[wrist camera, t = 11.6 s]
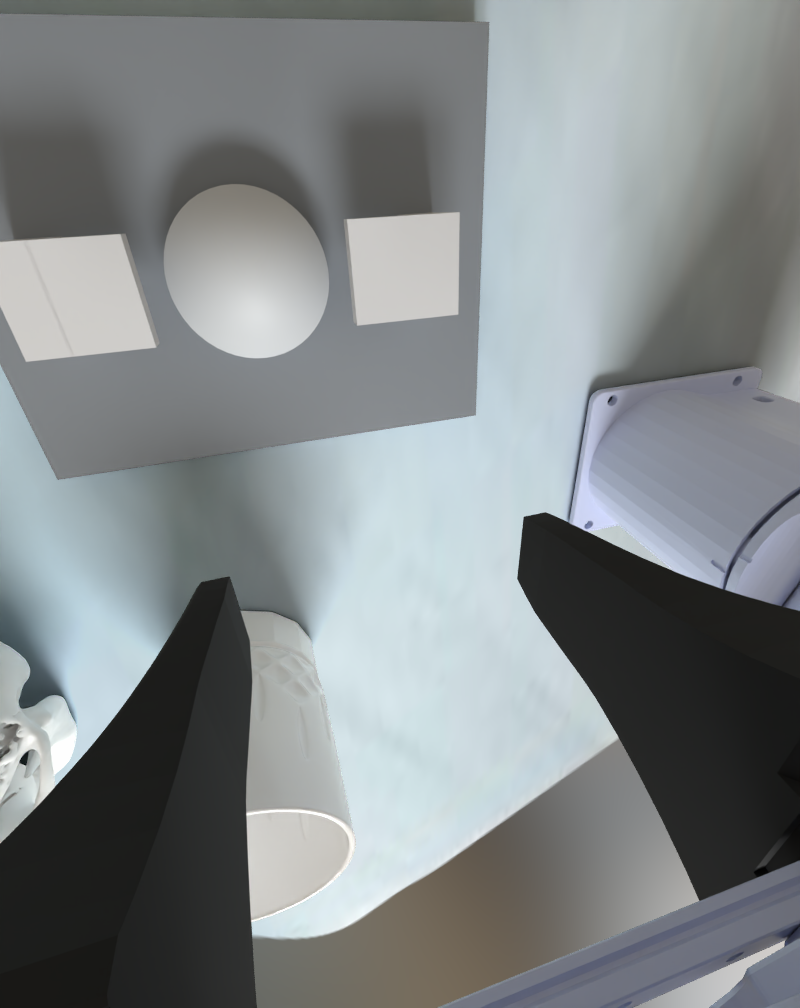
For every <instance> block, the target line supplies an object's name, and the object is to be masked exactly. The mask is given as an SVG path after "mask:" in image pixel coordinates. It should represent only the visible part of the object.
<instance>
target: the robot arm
mask: <svg viewBox="0 0 800 1008" xmlns="http://www.w3.org/2000/svg"><path fill="white" fill-rule="evenodd" d="M761 378H762V370H761V369H760V368H757V367H745V368H739V369H732V370H725V371H719V372H712V373H706V374H699V375H692V376H686V377H679V378H672V379H666V380H659V381H653V382H646V383H639V384H633V385H626V386H620V387H613V388H606V389H600V390H597V391H596V392H594V393H593V395H592V396H591V397H590V400H589V406H588V412H587V418H586V424H585V430H584V436H583V442H582V448H581V454H580V460H579V466H578V472H577V478H576V484H575V490H574V496H573V502H572V508H571V514H570V520H569V523H568V522H566V521H564V520H562V519H560V518H558V517H555V516H553V515H551V514H548V513H546V512H545V513H540V514H535V515H531V516H526V517H524V520H523V529H522V539H521V549H520V558H519V568H518V578H517V579H518V581H519V583H520V585H521V587H522V589H523V591H524V593H525V595H526V597H527V599H528V601H529V602H530V604H531V606H532V608H533V610H534V611H535V613H536V614H537V616H538V617H539V619H540V620H541V622H542V623H543V624H544V626H545V627H546V629H547V630H548V631H549V633H550V634H551V636H552V637H553V638H554V640H555V641H556V643H557V644H558V645H559V647H560V648H561V649H562V651H563V652H564V654H565V655H566V656H567V658H568V659H569V661H570V662H571V663H572V665H573V666H574V667H575V669H576V670H577V672H578V673H579V674H580V676H581V677H582V678H583V680H584V681H585V683H586V684H587V686H588V687H589V689H590V690H591V692H592V693H593V695H594V696H595V698H596V699H597V701H598V703H599V704H600V706H601V708H602V709H603V711H604V713H605V715H606V716H607V718H608V720H609V721H610V723H611V725H612V727H613V728H614V730H615V732H616V733H617V735H618V737H619V739H620V741H621V742H622V744H623V746H624V748H625V750H626V752H627V753H628V755H629V757H630V759H631V761H632V762H633V764H634V766H635V768H636V770H637V771H638V774H639V775H640V777H641V779H642V781H643V783H644V785H645V787H646V789H647V791H648V793H649V795H650V797H651V799H652V801H653V803H654V805H655V807H656V809H657V811H658V813H659V815H660V817H661V819H662V821H663V823H664V825H665V827H666V829H667V831H668V833H669V835H670V837H671V840H672V842H673V844H674V846H675V848H676V850H677V852H678V854H679V857H680V859H681V861H682V863H683V865H684V867H685V869H686V871H687V874H688V876H689V878H690V880H691V883H692V885H693V887H694V889H695V892H696V894H697V896H698V898H699V902H696V903H694V904H691V905H689V906H686V907H684V908H681V909H679V910H677V911H674V912H672V913H669V914H667V915H664V916H662V917H659V918H657V919H654V920H652V921H650V922H647V923H645V924H642V925H640V926H637V927H635V928H632V929H630V930H627V931H625V932H622V933H620V934H617V935H615V936H612V937H610V938H608V939H605V940H603V941H600V942H598V943H595V944H593V945H590V946H588V947H585V948H583V949H580V950H578V951H576V952H573V953H571V954H568V955H566V956H563V957H561V958H558V959H556V960H553V961H551V962H548V963H546V964H544V965H541V966H539V967H536V968H534V969H531V970H529V971H527V972H524V973H521V974H519V975H516V976H514V977H512V978H510V979H507V980H504V981H502V982H499V983H497V984H494V985H492V986H490V987H487V988H485V989H482V990H480V991H477V992H475V993H472V994H470V995H467V996H465V997H462V998H460V999H458V1000H455V1001H453V1002H450V1003H448V1004H445V1005H443V1006H440V1007H438V1008H633V1007H635V1006H638V1005H640V1004H642V1003H644V1002H647V1001H649V1000H651V999H654V998H656V997H658V996H660V995H663V994H665V993H667V992H669V991H672V990H674V989H676V988H678V987H681V986H683V985H685V984H687V983H690V982H692V981H694V980H696V979H698V978H701V977H703V976H705V975H708V974H710V973H712V972H714V971H717V970H719V969H721V968H723V967H726V966H728V965H730V964H732V963H734V962H737V961H739V960H741V959H744V958H746V957H748V956H750V955H753V954H755V953H757V952H759V951H762V950H764V949H766V948H769V947H771V946H773V945H775V944H777V943H780V942H782V941H784V940H786V941H785V946H784V947H783V948H782V949H780V950H778V951H777V952H775V953H773V954H771V955H770V956H768V957H766V958H764V959H763V960H761V961H759V962H757V963H756V964H754V965H752V966H751V967H749V968H748V969H747V971H746V973H745V975H744V977H743V979H742V980H741V981H740V982H739V983H738V984H737V985H736V986H735V987H734V988H733V989H732V990H731V991H730V992H728V993H727V994H726V995H724V996H723V997H722V998H721V999H719V1000H718V1001H717V1002H715V1003H714V1004H713V1005H712V1006H710V1007H709V1008H800V403H798V402H795V401H792V400H789V399H786V398H783V397H780V396H777V395H774V394H772V393H769V392H766V391H763V390H760V389H758V386H759V383H760V380H761ZM611 396H612V399H611V401H610V402H609V403H608V399H609V398H610V397H611ZM587 522H588V523H587ZM586 523H587V524H586ZM617 525H619V526H621V527H622V528H623V529H624V530H625V531H626V532H628V533H629V534H630V535H631V536H632V537H634V538H635V539H636V540H637V541H638V542H640V543H641V544H642V545H643V546H644V547H646V548H647V549H648V550H649V551H650V552H651V553H653V554H654V555H655V556H656V557H657V558H659V559H660V560H661V561H662V562H663V563H665V564H666V565H667V566H668V567H669V568H671V569H672V570H673V571H672V570H669V569H667V568H665V567H662V566H660V565H658V564H655V563H653V562H650V561H648V560H646V559H643V558H641V557H639V556H637V555H635V554H632V553H630V552H628V551H626V550H624V549H622V548H620V547H617V546H615V545H613V544H611V543H609V542H607V541H605V540H603V539H601V538H599V537H597V536H595V535H593V534H591V533H589V531H594V530H598V529H603V528H607V527H612V526H617ZM251 698H252V665H251V650H250V639H249V636H248V633H247V630H246V627H245V624H244V620H243V617H242V614H241V611H240V608H239V605H238V601H237V598H236V595H235V592H234V589H233V586H232V582H231V579H230V577H225V578H220V579H215V580H210V581H205V582H201V583H200V585H199V586H198V587H197V589H196V591H195V593H194V594H193V596H192V598H191V600H190V602H189V604H188V605H187V607H186V609H185V611H184V613H183V614H182V616H181V618H180V620H179V621H178V623H177V625H176V626H175V628H174V630H173V632H172V633H171V635H170V636H169V638H168V640H167V641H166V643H165V645H164V646H163V648H162V649H161V651H160V653H159V654H158V656H157V658H156V659H155V661H154V662H153V664H152V665H151V667H150V668H149V670H148V671H147V672H146V674H145V675H144V677H143V678H142V680H141V681H140V683H139V684H138V686H137V687H136V688H135V690H134V691H133V693H132V694H131V696H130V697H129V698H128V700H127V701H126V703H125V704H124V705H123V707H122V708H121V709H120V711H119V712H118V713H117V715H116V716H115V717H114V718H113V720H112V721H111V722H110V724H109V725H108V726H107V727H106V729H105V730H104V731H103V732H102V734H101V735H100V736H99V737H98V739H97V740H96V741H95V742H94V743H93V745H92V746H91V747H90V748H89V749H88V751H87V752H86V753H85V754H84V755H83V756H82V758H81V759H80V760H79V761H78V762H77V763H76V764H75V766H74V767H73V768H72V769H71V770H70V771H69V772H68V773H67V774H66V775H65V777H64V778H63V779H62V780H61V781H60V782H59V783H58V784H57V785H56V786H55V788H54V789H53V790H52V791H51V792H50V793H49V794H48V795H47V796H46V797H45V799H44V800H43V801H42V802H41V803H40V804H39V805H38V806H37V807H36V808H35V809H34V810H33V811H32V812H31V813H30V814H29V815H28V816H27V817H26V818H25V819H24V820H23V821H22V822H21V823H20V824H19V825H18V826H17V827H16V828H15V829H14V830H13V831H12V832H11V833H10V834H9V835H8V836H7V837H6V838H5V839H4V840H3V841H2V842H1V843H0V1008H257V1005H256V991H255V979H254V978H255V977H254V962H253V945H252V927H251V910H250V890H249V868H248V845H247V815H246V782H247V764H248V748H249V732H250V716H251Z"/></svg>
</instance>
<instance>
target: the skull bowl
mask: <svg viewBox="0 0 800 1008" xmlns="http://www.w3.org/2000/svg"><path fill="white" fill-rule="evenodd" d="M29 676H30V667H29V665H28V663H27V661H26V660H25V658H24V657H22V656H21V655H20V654H19V653H18V652H17V651H15V650H14V649H13V648H11V647H9V646H7V645H6V644H4V643H2V642H1V641H0V843H1V842H2V841H3V840H4V839H5V838H6V837H7V836H8V835H9V834H10V833H11V832H12V831H13V830H14V829H15V828H16V827H17V826H18V825H19V824H20V823H21V822H22V821H23V820H24V819H25V818H26V817H27V816H28V815H29V814H30V813H31V812H32V811H33V810H34V809H35V808H36V807H37V806H38V805H39V804H40V803H41V802H42V801H43V800H44V799H45V797H46V796H47V795H48V794H49V793H50V792H51V791H52V790H53V789H54V788H55V786H56V785H55V778H54V775H55V774H56V773H57V772H58V771H59V770H60V769H62V768H63V767H64V766H65V765H66V764H67V763H68V762H69V760H70V758H71V756H72V754H73V750H74V746H75V742H76V737H77V726H76V723H75V721H74V720H73V718H72V716H71V713H70V711H69V709H68V706H67V703H66V701H65V700H64V698H63V697H61V696H58V695H51V696H48V697H46V698H45V699H43V700H41V701H40V702H39V703H37V704H36V706H33V707H29V708H25V709H22V708H20V706H19V698H20V695H21V691H22V688H23V685H24V683H25V682H26V681H27V680H28V678H29ZM27 751H28V761H27V765H22V764H21V763H19V761H20V759H21V757H22V756H23V754H24V753H26V752H27Z"/></svg>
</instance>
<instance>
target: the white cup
mask: <svg viewBox="0 0 800 1008" xmlns="http://www.w3.org/2000/svg"><path fill="white" fill-rule="evenodd" d="M241 614H242V617H243V620H244V624H245V627H246V630H247V633H248V636H249V639H250V650H251V665H252V698H251V716H250V732H249V748H248V764H247V782H246V815H247V845H248V868H249V890H250V910H251V922H253V921H257V920H260V919H263V918H266V917H269V916H272V915H275V914H277V913H280V912H282V911H285V910H287V909H289V908H291V907H294V906H296V905H298V904H300V903H302V902H304V901H305V900H307V899H309V898H311V897H312V896H314V895H315V894H317V893H318V892H320V891H321V890H323V889H324V888H326V887H327V886H328V885H329V884H331V883H332V882H333V881H334V880H335V879H336V878H337V877H338V876H339V875H340V874H341V873H342V872H343V871H344V870H345V868H346V867H347V866H348V864H349V863H350V861H351V859H352V857H353V854H354V851H355V846H356V840H355V834H354V829H353V825H352V820H351V815H350V811H349V806H348V801H347V796H346V791H345V787H344V782H343V777H342V772H341V767H340V762H339V757H338V752H337V747H336V742H335V738H334V733H333V729H332V725H331V721H330V717H329V714H328V709H327V704H326V699H325V695H324V691H323V688H322V685H321V683H320V680H319V678H318V673H317V668H316V663H315V658H314V652H313V647H312V642H311V639H310V638H309V637H308V636H307V634H306V633H305V632H304V631H303V629H302V628H301V627H300V626H299V624H298V623H297V622H295V621H293V620H290V619H288V618H286V617H283V616H281V615H278V614H276V613H274V612H264V611H241Z"/></svg>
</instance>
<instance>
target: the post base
mask: <svg viewBox="0 0 800 1008" xmlns="http://www.w3.org/2000/svg"><path fill="white" fill-rule="evenodd" d="M488 42H489V22H455V21H399V20H342V19H286V18H230V17H173V16H117V15H61V14H4V13H0V365H1V367H2V369H3V371H4V373H5V375H6V377H7V379H8V381H9V383H10V385H11V387H12V389H13V391H14V393H15V395H16V397H17V399H18V401H19V403H20V405H21V407H22V409H23V411H24V413H25V415H26V417H27V419H28V421H29V423H30V425H31V427H32V429H33V431H34V433H35V435H36V437H37V439H38V441H39V443H40V445H41V447H42V449H43V451H44V453H45V455H46V457H47V459H48V461H49V463H50V465H51V467H52V469H53V471H54V473H55V475H56V477H57V479H58V480H59V479H65V478H72V477H78V476H85V475H91V474H97V473H104V472H110V471H117V470H123V469H130V468H136V467H143V466H149V465H156V464H162V463H169V462H175V461H182V460H188V459H195V458H201V457H208V456H214V455H221V454H227V453H234V452H240V451H247V450H253V449H260V448H266V447H273V446H279V445H286V444H292V443H299V442H305V441H312V440H318V439H325V438H331V437H338V436H344V435H351V434H357V433H363V432H370V431H376V430H383V429H389V428H396V427H402V426H409V425H415V424H422V423H428V422H435V421H441V420H448V419H454V418H461V417H467V416H474V415H476V389H477V360H478V331H479V302H480V273H481V244H482V215H483V186H484V157H485V128H486V100H487V71H488Z"/></svg>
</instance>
